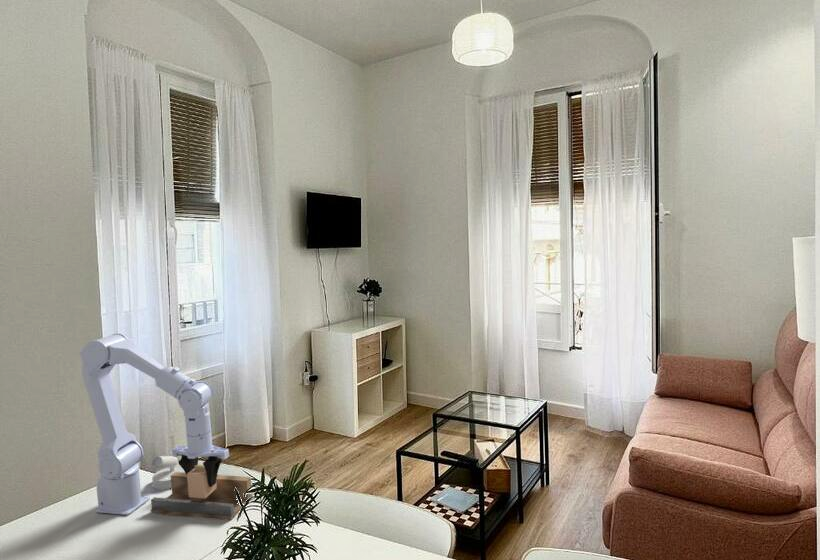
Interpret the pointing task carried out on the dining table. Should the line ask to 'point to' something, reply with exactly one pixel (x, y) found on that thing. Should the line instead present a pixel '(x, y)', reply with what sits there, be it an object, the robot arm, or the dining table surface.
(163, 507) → the lip
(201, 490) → the cabinet block
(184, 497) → the wall board
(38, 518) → the dining table surface
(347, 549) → the dining table surface
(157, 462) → the wall hook
